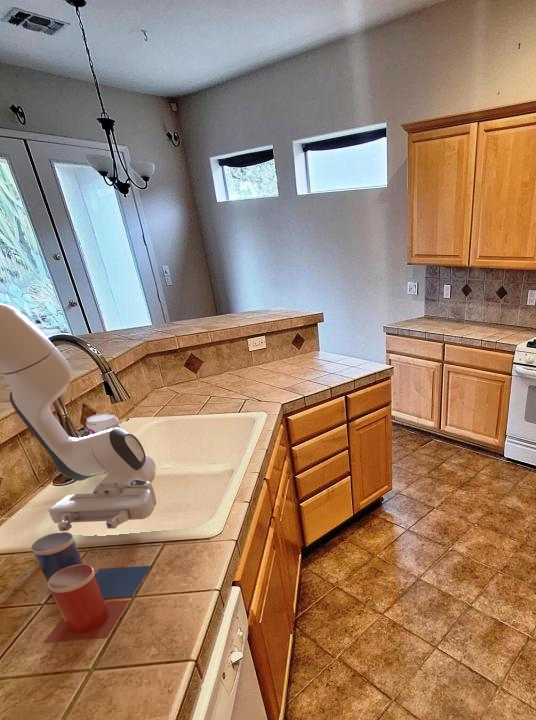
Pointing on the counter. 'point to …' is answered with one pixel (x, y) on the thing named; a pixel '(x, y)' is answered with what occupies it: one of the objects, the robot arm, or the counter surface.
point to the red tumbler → (79, 598)
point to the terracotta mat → (102, 631)
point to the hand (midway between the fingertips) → (86, 527)
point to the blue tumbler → (56, 553)
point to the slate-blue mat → (120, 580)
